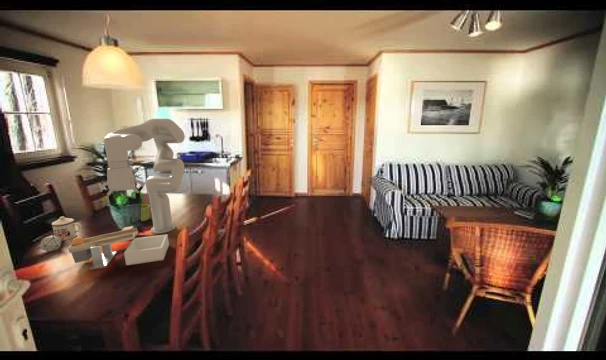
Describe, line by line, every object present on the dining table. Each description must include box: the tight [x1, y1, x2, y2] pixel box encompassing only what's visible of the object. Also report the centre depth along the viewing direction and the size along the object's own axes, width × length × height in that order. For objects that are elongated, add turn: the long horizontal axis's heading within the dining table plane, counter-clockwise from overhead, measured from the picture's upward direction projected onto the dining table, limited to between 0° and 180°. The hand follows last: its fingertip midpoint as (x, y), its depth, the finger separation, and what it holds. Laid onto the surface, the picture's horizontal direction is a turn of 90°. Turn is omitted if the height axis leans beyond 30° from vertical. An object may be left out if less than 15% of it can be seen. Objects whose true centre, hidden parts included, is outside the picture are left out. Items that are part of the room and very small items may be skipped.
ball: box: [71, 236, 85, 246], centre depth 113 cm, size 4×4×4 cm
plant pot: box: [140, 204, 151, 222], centre depth 164 cm, size 9×9×9 cm
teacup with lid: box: [51, 216, 83, 242], centre depth 140 cm, size 12×9×12 cm
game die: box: [36, 233, 64, 255], centre depth 125 cm, size 9×8×10 cm
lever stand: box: [88, 244, 117, 271], centre depth 117 cm, size 13×6×10 cm, turn 18°
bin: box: [123, 233, 170, 266], centre depth 122 cm, size 15×15×6 cm
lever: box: [67, 225, 139, 264], centre depth 120 cm, size 16×24×8 cm, turn 108°
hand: (125, 202), depth 118 cm, fingers open, 9 cm apart
